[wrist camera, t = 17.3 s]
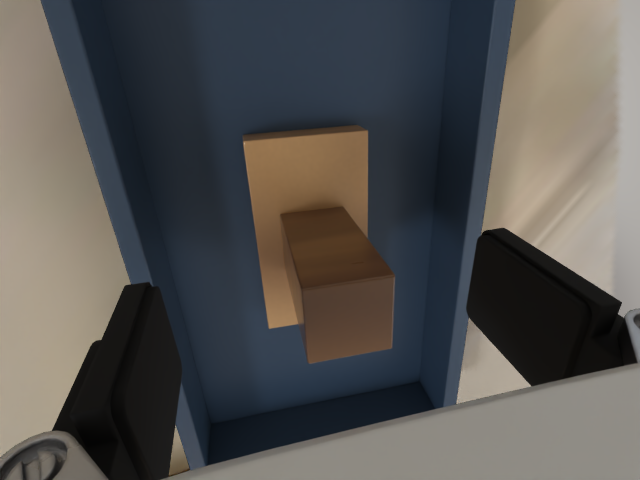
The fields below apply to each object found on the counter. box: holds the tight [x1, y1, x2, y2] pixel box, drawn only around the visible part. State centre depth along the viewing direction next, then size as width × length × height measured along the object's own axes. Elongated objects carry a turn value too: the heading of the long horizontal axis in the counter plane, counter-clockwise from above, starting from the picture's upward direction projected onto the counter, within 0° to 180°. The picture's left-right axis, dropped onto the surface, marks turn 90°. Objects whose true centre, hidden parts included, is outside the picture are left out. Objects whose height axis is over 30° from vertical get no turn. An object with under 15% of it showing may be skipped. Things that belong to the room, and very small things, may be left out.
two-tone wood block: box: [242, 125, 395, 364], centre depth 15 cm, size 9×5×8 cm, turn 3°
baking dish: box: [41, 0, 515, 470], centre depth 17 cm, size 26×15×4 cm, turn 3°
